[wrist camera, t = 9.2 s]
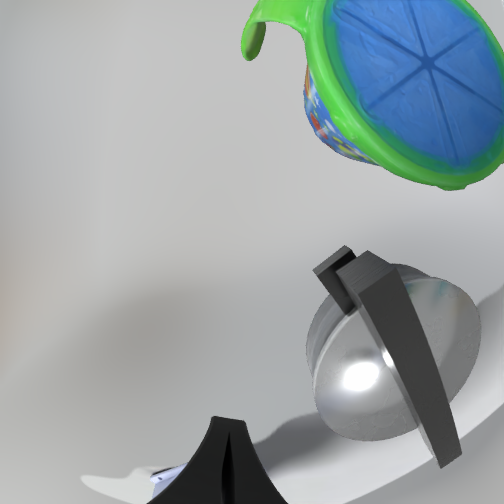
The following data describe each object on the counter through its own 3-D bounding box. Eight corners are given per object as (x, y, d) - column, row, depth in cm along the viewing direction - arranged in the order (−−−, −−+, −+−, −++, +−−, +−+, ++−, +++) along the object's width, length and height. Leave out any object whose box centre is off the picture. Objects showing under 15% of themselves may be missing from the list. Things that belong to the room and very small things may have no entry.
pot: (465, 357, 23) (488, 378, 19) (365, 433, 24) (377, 462, 20) (386, 195, 20) (414, 198, 16) (247, 301, 21) (247, 327, 17)
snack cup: (460, 111, 18) (553, 90, 8) (415, 227, 20) (513, 261, 10) (284, 4, 17) (306, -91, 7) (216, 120, 18) (186, 61, 9)
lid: (487, 385, 19) (513, 411, 15) (366, 468, 20) (380, 503, 16) (432, 197, 15) (477, 203, 11) (248, 320, 17) (248, 360, 13)
